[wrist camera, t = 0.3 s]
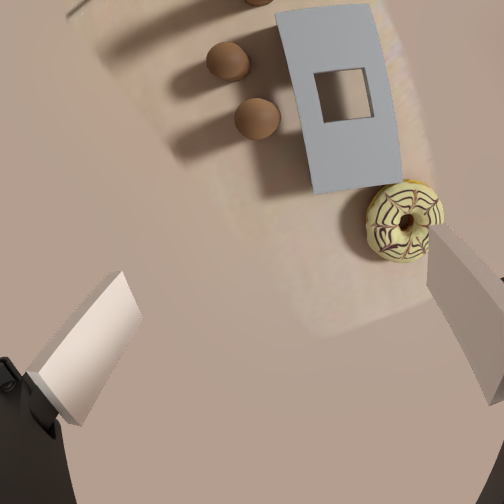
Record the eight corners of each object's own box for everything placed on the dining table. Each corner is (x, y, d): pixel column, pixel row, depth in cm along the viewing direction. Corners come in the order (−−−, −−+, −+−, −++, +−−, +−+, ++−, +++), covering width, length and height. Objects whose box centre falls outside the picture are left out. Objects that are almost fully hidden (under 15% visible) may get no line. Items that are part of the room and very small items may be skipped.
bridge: (276, 25, 29) (274, 13, 25) (359, 15, 27) (369, 3, 23) (311, 183, 37) (314, 194, 33) (390, 172, 35) (402, 182, 31)
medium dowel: (243, 104, 34) (230, 103, 27) (276, 97, 33) (272, 94, 26) (250, 136, 36) (239, 143, 29) (283, 129, 35) (281, 135, 28)
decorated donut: (357, 252, 41) (362, 265, 37) (366, 172, 36) (373, 179, 33) (426, 255, 40) (436, 268, 36) (440, 181, 35) (453, 188, 32)
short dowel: (213, 54, 32) (202, 47, 27) (246, 46, 31) (240, 37, 27) (221, 84, 34) (210, 81, 29) (254, 77, 33) (248, 72, 28)
